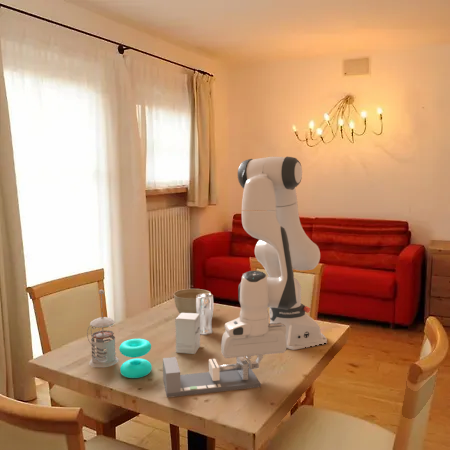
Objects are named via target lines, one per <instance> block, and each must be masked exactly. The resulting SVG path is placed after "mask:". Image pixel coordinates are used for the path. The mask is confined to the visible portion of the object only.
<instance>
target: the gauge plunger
mask: <svg viewBox="0 0 450 450" xmlns="http://www.w3.org/2000/svg"><path fill="white" fill-rule="evenodd" d="M218 366H219V372H226V371H236V370H237V371H238V372H239V374H240V376H241V377H242V379H243V380H248V376H249V362H248V361H247V359H246V357H245V356H244V357H236V363H228V364H218Z"/></svg>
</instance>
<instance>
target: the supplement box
mask: <svg viewBox="0 0 450 450" xmlns="http://www.w3.org/2000/svg"><path fill="white" fill-rule="evenodd" d="M200 347H201V334H200V314H198V313H179V314H178V315H177V317H176V318H175V353H176V354H177V353H178V354H190V355H191V354H192V355H195V354H196V353H197V352H198V349H199V348H200Z"/></svg>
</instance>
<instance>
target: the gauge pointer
mask: <svg viewBox="0 0 450 450" xmlns="http://www.w3.org/2000/svg"><path fill="white" fill-rule="evenodd" d="M218 365H219V363H218V362H217V359H216V358H209V359H208V372H209V373H210V375H211V378H212V380H213V381H217V380H220V378H219V366H218Z"/></svg>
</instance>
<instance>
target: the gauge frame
mask: <svg viewBox="0 0 450 450" xmlns="http://www.w3.org/2000/svg"><path fill="white" fill-rule="evenodd" d="M162 375H163V376H162V381H163V385H164V391H165V394H166V398H174V397H181V396H192V395H193V396H194V395H200V394H201V395H202V394H209V393H217V392H218V393H219V392H220V393H221V392H226V391H229V392H230V391H236V390H245V389H254V388H255V389H256V388H261V382H260V379H258V377H257V376H256V374H255V372H254V371H253V369H249V376H248V380H243V379H242V377H241V376H240V374H239V372H238V371H237V370H236V371H226V372H219V378H220V380H217V381H213V380H212V378H211V375H210V373H209V371H205V372H196V373H186V374H181V370H180V367H179V364H178V360H177V357H176V356H172V357H163V358H162Z"/></svg>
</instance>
